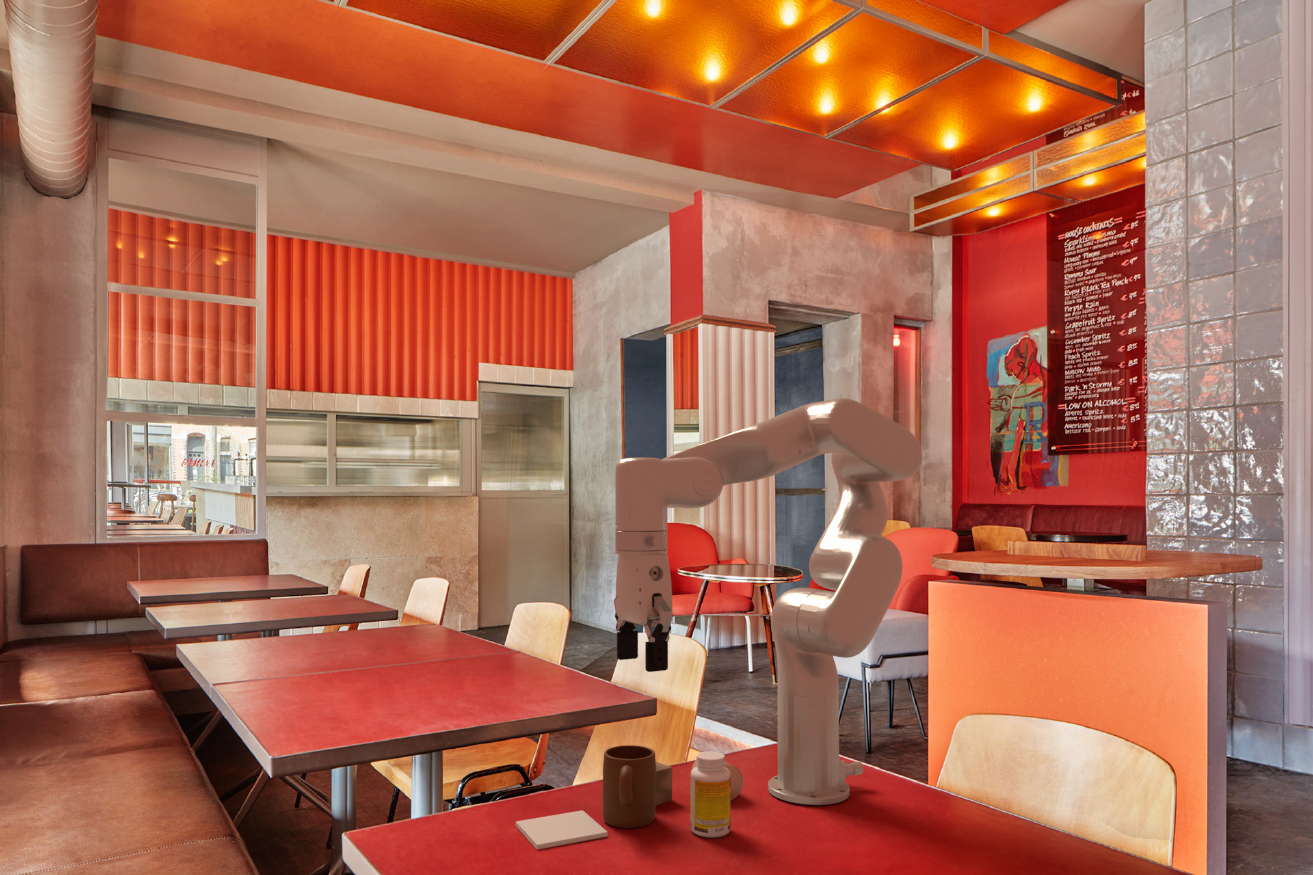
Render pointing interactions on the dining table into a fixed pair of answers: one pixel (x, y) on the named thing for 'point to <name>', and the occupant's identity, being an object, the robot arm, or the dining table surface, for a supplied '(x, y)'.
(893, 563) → the robot arm
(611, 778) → the mug
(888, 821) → the dining table surface
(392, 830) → the dining table surface
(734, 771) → the capsule
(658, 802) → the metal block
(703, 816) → the supplement bottle
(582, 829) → the coaster
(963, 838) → the dining table surface
